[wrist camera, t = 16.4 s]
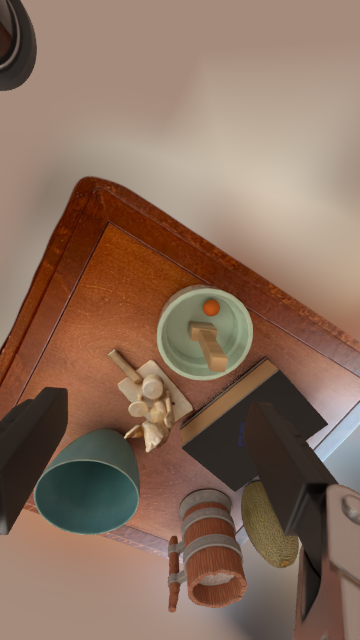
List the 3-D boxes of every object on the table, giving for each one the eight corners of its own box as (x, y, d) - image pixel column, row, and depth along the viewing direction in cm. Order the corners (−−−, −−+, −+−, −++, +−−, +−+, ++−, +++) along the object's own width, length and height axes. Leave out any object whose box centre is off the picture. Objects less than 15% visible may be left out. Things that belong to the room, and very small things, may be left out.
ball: (199, 304, 41) (210, 293, 40) (211, 314, 42) (222, 303, 41) (199, 312, 39) (210, 300, 37) (212, 322, 39) (224, 311, 38)
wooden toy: (194, 408, 48) (205, 463, 35) (158, 431, 49) (154, 493, 36) (135, 334, 43) (121, 366, 29) (95, 361, 44) (64, 404, 31)
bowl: (163, 278, 40) (163, 282, 33) (247, 290, 42) (263, 295, 35) (154, 358, 44) (151, 375, 37) (230, 366, 46) (241, 384, 39)
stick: (189, 320, 42) (203, 354, 26) (212, 322, 42) (237, 358, 27) (188, 331, 42) (200, 371, 27) (209, 334, 43) (234, 374, 27)
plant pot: (120, 483, 53) (107, 547, 41) (52, 454, 49) (15, 514, 37) (160, 432, 49) (158, 485, 37) (89, 396, 46) (62, 443, 34)
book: (307, 403, 50) (328, 424, 43) (226, 464, 53) (235, 492, 47) (264, 355, 45) (280, 370, 39) (179, 424, 49) (181, 448, 43)
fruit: (225, 494, 56) (246, 575, 41) (249, 464, 53) (279, 539, 39) (260, 507, 58) (292, 588, 43) (284, 478, 55) (325, 554, 41)
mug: (240, 508, 57) (265, 591, 43) (184, 542, 60) (189, 631, 45) (211, 479, 54) (227, 558, 40) (152, 515, 56) (147, 603, 42)
